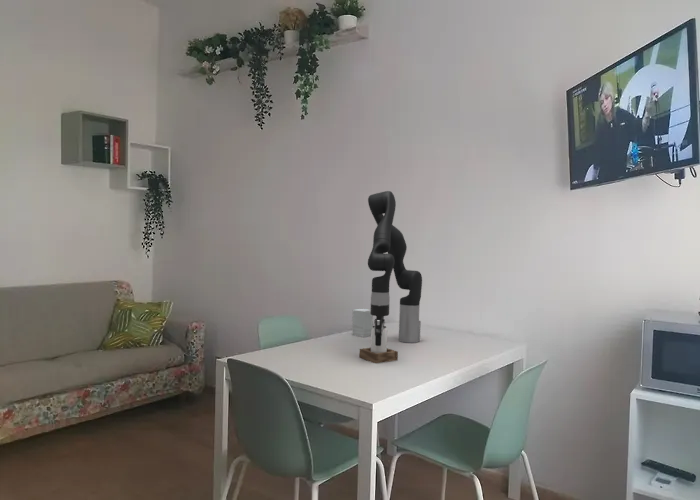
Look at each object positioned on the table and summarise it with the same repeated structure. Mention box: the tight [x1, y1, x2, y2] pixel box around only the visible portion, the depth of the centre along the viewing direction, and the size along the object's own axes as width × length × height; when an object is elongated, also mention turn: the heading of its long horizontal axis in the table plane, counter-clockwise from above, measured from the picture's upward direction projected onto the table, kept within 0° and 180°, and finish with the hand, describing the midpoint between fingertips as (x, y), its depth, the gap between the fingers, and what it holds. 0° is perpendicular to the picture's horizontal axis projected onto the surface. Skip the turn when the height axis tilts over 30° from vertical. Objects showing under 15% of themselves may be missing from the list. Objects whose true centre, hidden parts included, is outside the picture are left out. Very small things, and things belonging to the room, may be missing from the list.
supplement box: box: [351, 308, 374, 338], centre depth 273 cm, size 7×7×13 cm
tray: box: [358, 347, 399, 364], centre depth 225 cm, size 11×11×4 cm
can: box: [370, 325, 388, 353], centre depth 225 cm, size 6×6×12 cm
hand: (378, 343), depth 224 cm, fingers open, 8 cm apart
